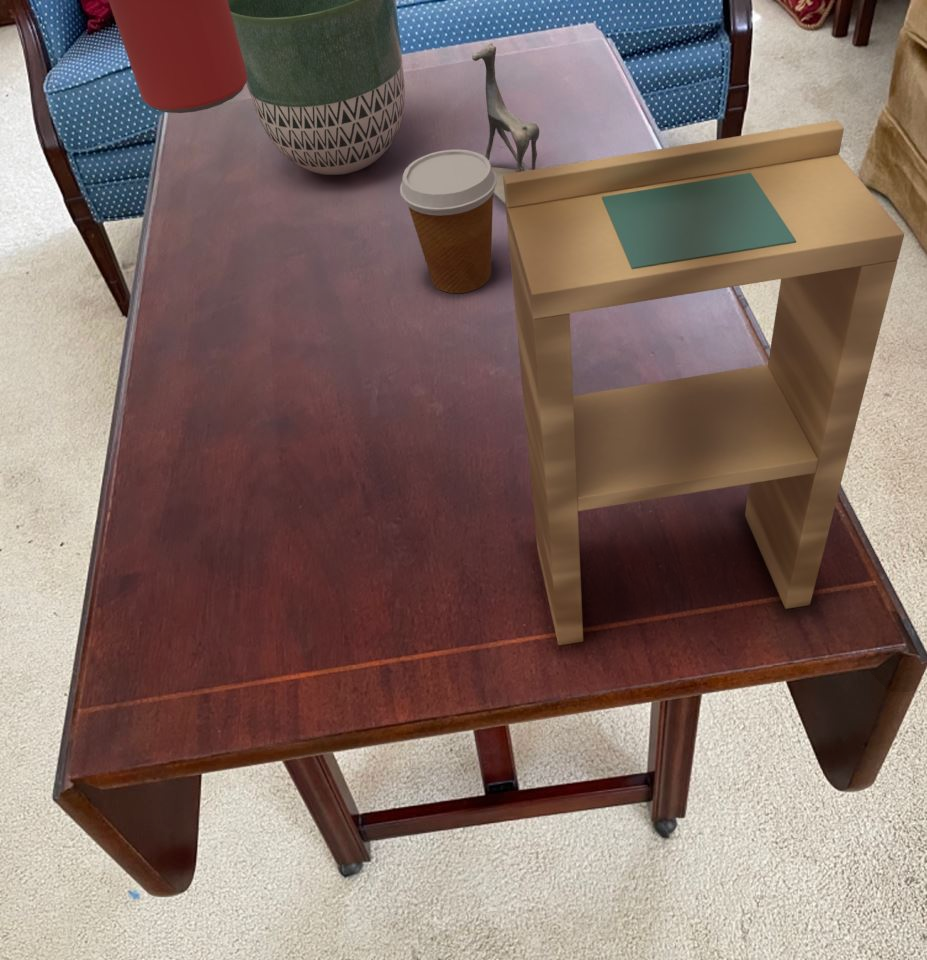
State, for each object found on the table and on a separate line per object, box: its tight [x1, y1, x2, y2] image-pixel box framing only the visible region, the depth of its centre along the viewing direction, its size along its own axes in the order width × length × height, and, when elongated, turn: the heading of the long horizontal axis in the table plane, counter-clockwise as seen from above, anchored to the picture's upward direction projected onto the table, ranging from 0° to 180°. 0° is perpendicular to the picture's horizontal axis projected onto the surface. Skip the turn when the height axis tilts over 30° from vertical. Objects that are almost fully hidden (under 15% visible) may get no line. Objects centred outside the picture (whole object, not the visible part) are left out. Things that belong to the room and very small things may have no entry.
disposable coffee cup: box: [399, 149, 497, 294], centre depth 95 cm, size 10×10×12 cm
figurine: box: [471, 43, 540, 207], centre depth 106 cm, size 11×6×15 cm, turn 15°
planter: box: [228, 0, 406, 176], centre depth 112 cm, size 20×20×21 cm
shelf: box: [503, 120, 905, 646], centre depth 58 cm, size 18×9×32 cm, turn 96°
